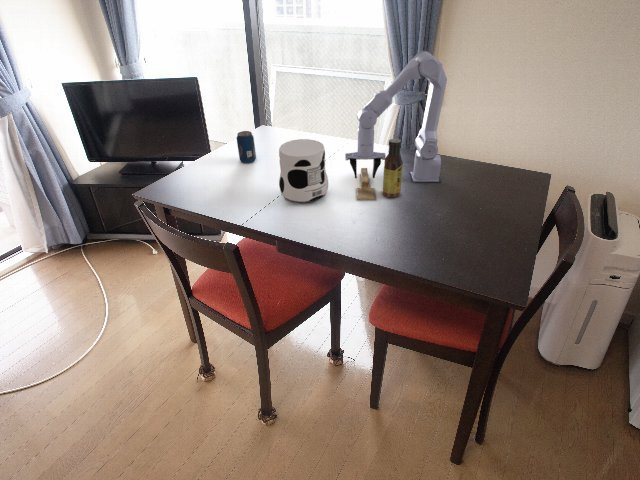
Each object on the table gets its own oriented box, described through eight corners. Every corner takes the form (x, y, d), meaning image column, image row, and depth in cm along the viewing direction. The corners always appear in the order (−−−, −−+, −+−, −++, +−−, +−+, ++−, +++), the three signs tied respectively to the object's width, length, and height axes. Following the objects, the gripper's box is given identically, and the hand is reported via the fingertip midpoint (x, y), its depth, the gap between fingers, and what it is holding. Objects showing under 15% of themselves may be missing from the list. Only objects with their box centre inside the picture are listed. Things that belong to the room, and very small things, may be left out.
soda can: (238, 159, 178) (233, 132, 171) (253, 156, 180) (250, 129, 173) (242, 165, 173) (238, 137, 166) (258, 162, 175) (255, 134, 168)
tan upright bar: (374, 199, 146) (375, 192, 144) (357, 200, 146) (357, 192, 144) (371, 174, 162) (371, 167, 161) (356, 174, 162) (356, 168, 161)
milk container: (290, 181, 159) (287, 136, 149) (334, 186, 155) (333, 140, 145) (272, 203, 146) (267, 155, 136) (320, 209, 141) (318, 160, 131)
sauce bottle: (399, 199, 146) (404, 145, 134) (381, 198, 147) (384, 144, 135) (400, 190, 151) (405, 137, 139) (383, 189, 152) (386, 136, 141)
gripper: (385, 138, 153) (383, 172, 160) (345, 138, 153) (345, 172, 161) (386, 145, 147) (384, 180, 155) (345, 146, 148) (345, 180, 155)
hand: (364, 177), depth 157 cm, fingers open, 6 cm apart
